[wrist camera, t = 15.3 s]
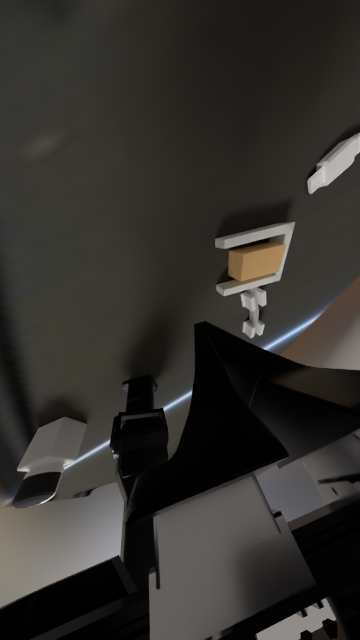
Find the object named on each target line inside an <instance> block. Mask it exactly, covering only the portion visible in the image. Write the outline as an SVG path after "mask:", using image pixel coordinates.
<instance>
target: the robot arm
mask: <svg viewBox="0 0 360 640" xmlns="http://www.w3.org/2000/svg"><path fill="white" fill-rule="evenodd" d="M194 338H195V375H194V384H193V391H192V398H191V405H190V410H189V414H188V417H187V420H186V423H185V426H184V429H183V433H182V436H181V439H180V442H179V445H178V448H177V450H176V452H175V454H174V455H173V457H172V458H171V459H169V460H168V451H167V446H168V427H167V423H166V419H165V414H164V410H163V408H160V409H154V396H153V392H155V391H157V387H156V385H155V383H154V382H153V380H152V378H151V377H150V376H145V377H142V378H139V379H136V380H133V381H130V382H127V383H124V384H122V388H123V389H124V390H125V391H126V392H127V393H128V394H127V404H126V412H119V415H117V416H116V417H114V421H113V428H112V434H111V440H110V446H109V447H110V448H111V449H112V453H113V459H115V458H117V464H116V473H115V478H116V481H117V483H118V486H119V489H120V492H121V494H122V497H123V500H124V513H123V527H122V541H121V555H120V556H119V555H118V556H115V557H113V558H111V559H109V560H106V561H104V562H102V563H99V564H97V565H95V566H92V567H90V568H88V569H85V570H83V571H80V572H78V573H76V574H73V575H71V576H69V577H66V578H64V579H62V580H60V581H57V582H55V583H52V584H50V585H48V586H45V587H43V588H41V589H39V590H37V591H35V592H32V593H30V594H28V595H26V596H24V597H22V598H19V599H17V600H15V601H13V602H11V603H9V604H7V605H5V606H3V607H1V608H0V640H258V639H257V635H256V634H257V633H259V632H260V631H263V630H264V629H266V628H268V627H270V626H272V625H274V624H276V623H278V622H280V621H282V620H284V619H286V618H288V617H290V616H292V615H293V614H297V615H299V616H301V617H306V616H307V607H309V606H314V607H316V608H318V609H321V608H323V607H324V605H323V600H322V599H324V598H326V599H327V601H328V603H329V605H330V607H331V609H332V611H333V613H334V615H335V617H336V620H335V621H332V620H330V619H326V620H324V621H322V624H323V627H322V628H320V629H318V630H316V631H314V632H312V633H311V632H309V631H307V630H305V631H303V632H301V633H300V634H301V639H299V640H360V370H346V369H329V368H316V367H310V366H306V365H303V364H300V363H297V362H294V361H292V360H289V359H286V358H284V357H282V356H279V355H277V354H274V353H272V352H269V351H267V350H264V349H262V348H260V347H258V346H256V345H253V344H251V343H249V342H247V341H245V340H243V339H241V338H239V337H237V336H235V335H233V334H231V333H229V332H227V331H225V330H223V329H221V328H219V327H217V326H215V325H213V324H211V323H208V322H206V321H203V322H200V323H197V324H194ZM121 426H122V428H120V427H121ZM299 460H300V461H301V462H302V464H303V465H304V467H305V468H306V470H307V471H308V473H309V474H310V475H311V477H312V478H313V480H314V481H315V483H316V485H315V487H316V489H317V490H318V492H319V493H320V495H321V496H322V498H323V499H324V501H325V502H326V504H327V505H325V506H323V507H321V508H319V509H316V510H314V511H312V512H310V513H308V514H305V515H303V516H301V517H299V518H297V519H294V520H292V521H290V522H288V523H286V521H285V519H284V517H283V515H282V513H281V512H280V511H279V510H275V509H270V507H269V505H268V502H267V501H266V498H265V496H264V494H263V492H262V489H261V487H260V485H259V483H258V481H257V478H256V476H258V475H260V474H261V473H263V472H265V471H266V470H268V469H270V468H271V467H273V466H275V465H276V464H277V466H278V467H279V469H280V468H282V467H284V466H287V465H290V464H292V463H294V462H297V461H299Z"/></svg>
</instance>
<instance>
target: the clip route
mask: <svg viewBox="0 0 360 640" xmlns="http://www.w3.org/2000/svg"><path fill="white" fill-rule="evenodd" d="M241 300H242V306H243V307H244V306H245V307H246V308H248V309H249V311H250V318H249V320H248V321H245V322H243V330H242V332H245V333H246V334H247V335H248V336H249V337H250V338H253V337H254V335H255V332H256V333H257V334H258V335H262V333H263V329H264V325H265V324H264V323H262V322H261V321H260V320H258V318H259V310H258V304H259V305H261V306H264V305H266V291H264V290H262V289H260V288H258V287H254V288H251V289H247V291H246V292H244V293H242V294H241Z"/></svg>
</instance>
